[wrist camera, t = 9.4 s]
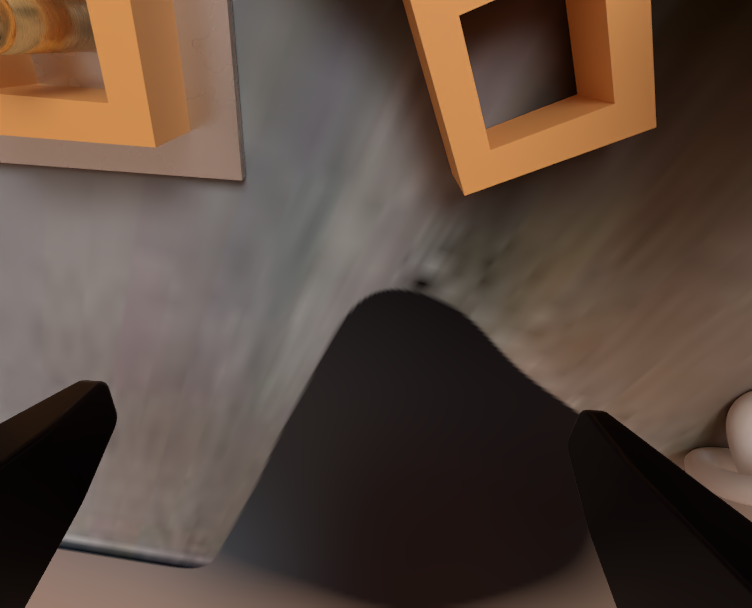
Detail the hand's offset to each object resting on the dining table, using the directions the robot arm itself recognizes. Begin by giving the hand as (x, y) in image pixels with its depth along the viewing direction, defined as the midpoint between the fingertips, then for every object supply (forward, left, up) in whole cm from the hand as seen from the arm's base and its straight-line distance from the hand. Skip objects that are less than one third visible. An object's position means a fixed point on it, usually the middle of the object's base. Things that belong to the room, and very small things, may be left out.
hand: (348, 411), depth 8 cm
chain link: (-5, -6, -12) cm, 14 cm away
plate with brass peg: (+10, -6, -12) cm, 17 cm away
